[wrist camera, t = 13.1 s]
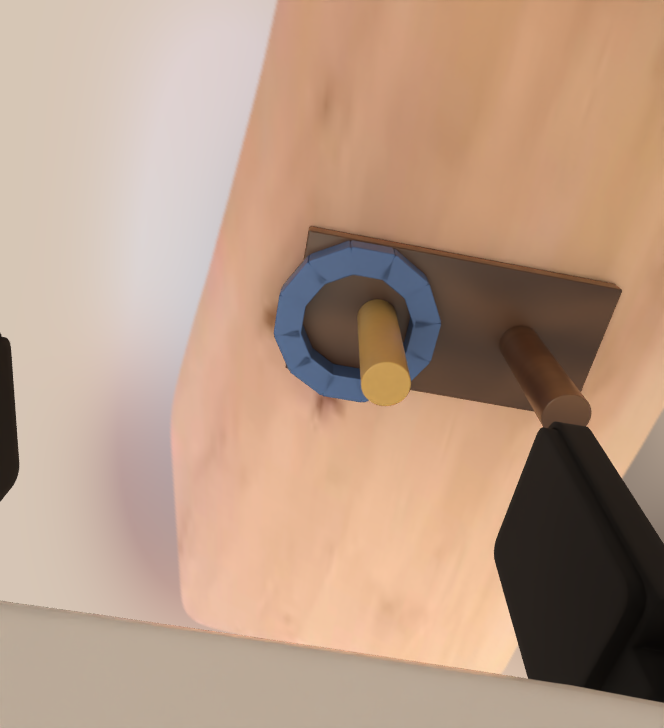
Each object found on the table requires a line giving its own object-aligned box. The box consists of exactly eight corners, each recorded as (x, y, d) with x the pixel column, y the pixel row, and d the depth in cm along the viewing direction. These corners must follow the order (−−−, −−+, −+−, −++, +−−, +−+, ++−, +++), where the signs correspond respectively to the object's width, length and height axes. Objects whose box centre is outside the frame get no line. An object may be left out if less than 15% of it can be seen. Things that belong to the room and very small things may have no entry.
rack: (309, 225, 36) (297, 276, 27) (615, 283, 37) (704, 351, 28) (286, 360, 40) (269, 445, 31) (564, 409, 41) (628, 505, 32)
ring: (290, 228, 35) (288, 235, 34) (452, 258, 36) (457, 265, 34) (268, 375, 39) (265, 386, 38) (414, 400, 40) (417, 412, 38)
